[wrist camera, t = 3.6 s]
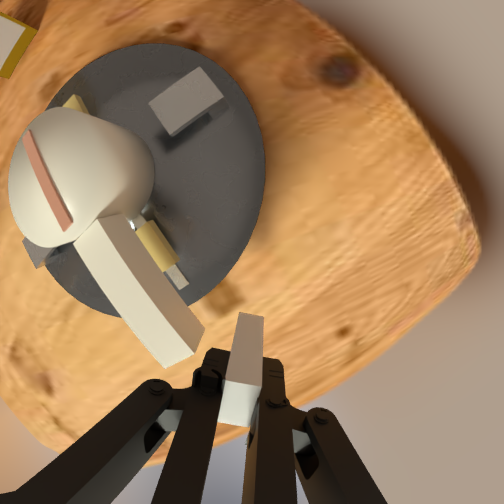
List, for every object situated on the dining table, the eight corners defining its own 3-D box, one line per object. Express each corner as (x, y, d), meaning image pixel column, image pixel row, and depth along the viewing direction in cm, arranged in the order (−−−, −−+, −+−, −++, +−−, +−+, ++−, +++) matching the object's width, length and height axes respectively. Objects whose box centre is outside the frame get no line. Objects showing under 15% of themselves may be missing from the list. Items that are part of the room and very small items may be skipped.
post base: (8, 168, 20) (-15, 169, 17) (167, 8, 16) (154, -13, 13) (111, 351, 24) (94, 370, 20) (327, 215, 20) (339, 220, 16)
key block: (44, 136, 18) (-16, 129, 10) (103, 74, 17) (47, 42, 9) (166, 335, 21) (128, 393, 14) (245, 288, 20) (233, 343, 13)
